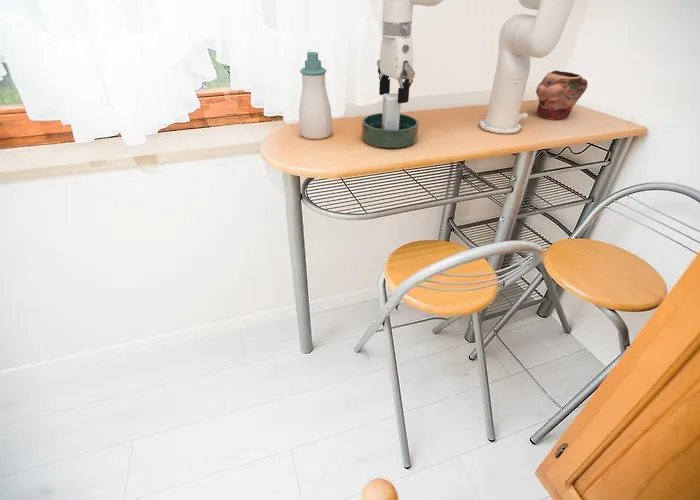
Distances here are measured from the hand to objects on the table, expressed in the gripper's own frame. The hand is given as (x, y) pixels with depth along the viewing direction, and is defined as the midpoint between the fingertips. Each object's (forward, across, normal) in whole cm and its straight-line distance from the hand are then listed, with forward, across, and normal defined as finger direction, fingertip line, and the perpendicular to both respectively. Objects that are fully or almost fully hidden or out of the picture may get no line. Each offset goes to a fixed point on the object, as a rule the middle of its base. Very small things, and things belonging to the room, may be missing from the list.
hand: (393, 98), depth 112 cm
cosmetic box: (+12, 0, +1) cm, 12 cm away
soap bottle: (+12, +14, +19) cm, 26 cm away
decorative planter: (+14, -5, -64) cm, 66 cm away
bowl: (+12, 0, +1) cm, 12 cm away
